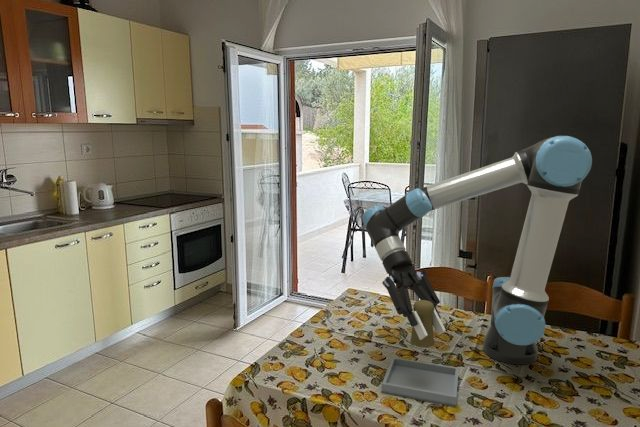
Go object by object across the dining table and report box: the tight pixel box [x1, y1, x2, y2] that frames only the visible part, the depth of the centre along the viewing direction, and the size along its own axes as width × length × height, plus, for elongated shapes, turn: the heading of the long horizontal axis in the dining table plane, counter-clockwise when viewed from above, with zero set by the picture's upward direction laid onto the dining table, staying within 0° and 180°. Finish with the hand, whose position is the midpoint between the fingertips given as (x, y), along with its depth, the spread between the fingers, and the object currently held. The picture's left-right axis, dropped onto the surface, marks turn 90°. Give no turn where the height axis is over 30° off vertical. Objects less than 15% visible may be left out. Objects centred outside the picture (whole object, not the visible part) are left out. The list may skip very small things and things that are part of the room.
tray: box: [381, 356, 460, 408], centre depth 115 cm, size 18×15×2 cm
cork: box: [410, 299, 435, 349], centre depth 113 cm, size 6×6×11 cm
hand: (432, 334), depth 110 cm, fingers closed on cork, 5 cm apart
